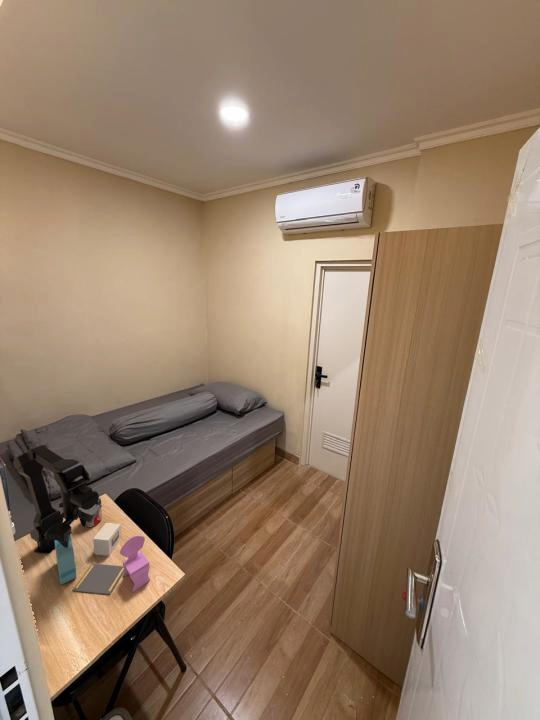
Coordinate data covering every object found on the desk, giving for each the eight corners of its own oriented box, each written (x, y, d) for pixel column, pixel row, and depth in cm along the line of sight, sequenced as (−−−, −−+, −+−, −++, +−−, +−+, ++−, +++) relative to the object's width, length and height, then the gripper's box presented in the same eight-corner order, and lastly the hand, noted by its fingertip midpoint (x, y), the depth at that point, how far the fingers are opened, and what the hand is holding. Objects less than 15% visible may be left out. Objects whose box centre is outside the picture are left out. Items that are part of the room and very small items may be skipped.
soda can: (100, 514, 129) (98, 490, 126) (104, 523, 124) (102, 499, 121) (81, 521, 124) (79, 497, 122) (85, 531, 119) (82, 506, 117)
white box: (94, 554, 109) (92, 538, 107) (107, 537, 117) (105, 522, 115) (110, 555, 108) (109, 540, 107) (122, 538, 116) (121, 524, 115)
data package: (76, 579, 99) (73, 550, 97) (60, 587, 96) (57, 557, 94) (71, 556, 108) (68, 528, 105) (57, 562, 105) (53, 534, 102)
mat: (72, 591, 95) (72, 590, 95) (92, 564, 105) (92, 563, 105) (110, 594, 94) (110, 593, 94) (126, 567, 104) (126, 566, 104)
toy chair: (129, 596, 94) (126, 558, 91) (119, 578, 100) (116, 541, 97) (153, 579, 100) (152, 543, 97) (143, 563, 106) (141, 528, 103)
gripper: (76, 519, 89) (80, 561, 92) (110, 482, 107) (112, 518, 111) (41, 517, 89) (46, 558, 92) (81, 480, 108) (84, 516, 111)
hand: (75, 536), depth 102 cm, fingers open, 9 cm apart
